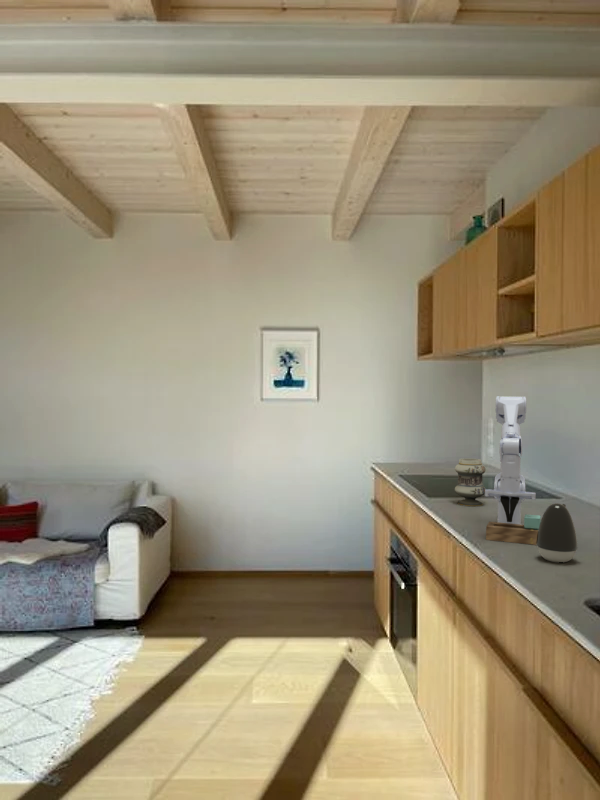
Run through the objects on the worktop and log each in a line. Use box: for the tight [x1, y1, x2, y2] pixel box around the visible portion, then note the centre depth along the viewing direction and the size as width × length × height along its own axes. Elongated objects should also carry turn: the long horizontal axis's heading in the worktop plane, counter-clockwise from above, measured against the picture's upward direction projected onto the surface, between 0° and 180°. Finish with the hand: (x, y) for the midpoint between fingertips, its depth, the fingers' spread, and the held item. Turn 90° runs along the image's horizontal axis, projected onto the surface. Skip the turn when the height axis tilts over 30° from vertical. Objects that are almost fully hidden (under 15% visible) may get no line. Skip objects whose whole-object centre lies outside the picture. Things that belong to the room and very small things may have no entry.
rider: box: [523, 513, 542, 530], centre depth 186 cm, size 4×5×5 cm
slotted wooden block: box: [485, 521, 538, 546], centre depth 186 cm, size 24×8×6 cm, turn 67°
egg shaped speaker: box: [535, 503, 579, 563], centre depth 166 cm, size 10×10×15 cm
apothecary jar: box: [454, 458, 487, 507], centre depth 247 cm, size 12×12×18 cm
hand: (509, 521), depth 189 cm, fingers closed
